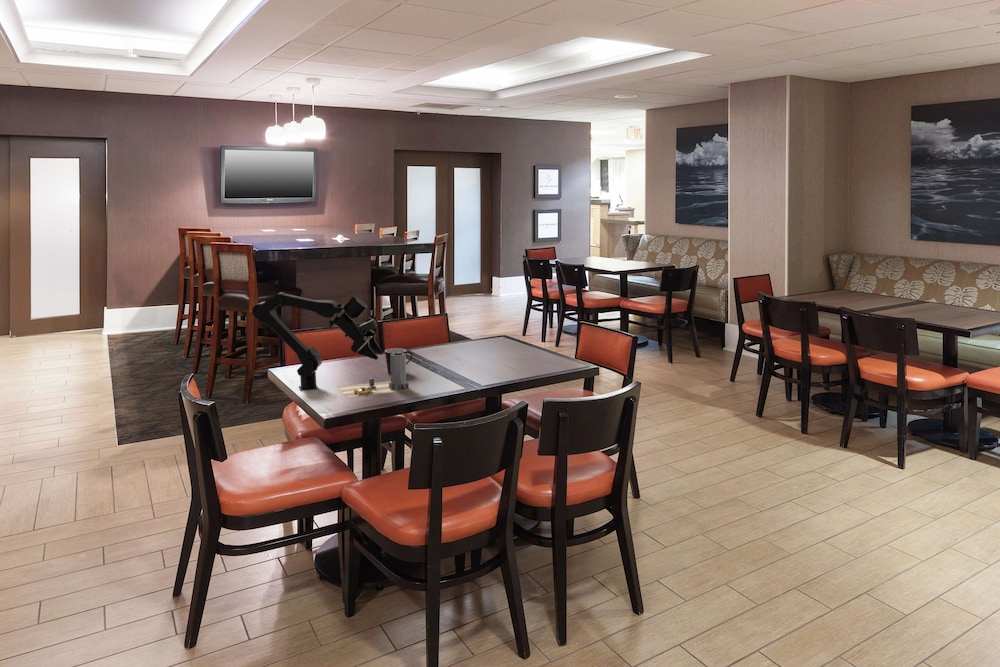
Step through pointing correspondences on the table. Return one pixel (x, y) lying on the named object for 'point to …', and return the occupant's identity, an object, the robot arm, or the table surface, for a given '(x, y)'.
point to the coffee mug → (395, 350)
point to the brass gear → (363, 391)
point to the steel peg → (371, 383)
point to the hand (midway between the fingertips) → (379, 356)
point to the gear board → (380, 388)
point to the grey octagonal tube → (398, 372)
